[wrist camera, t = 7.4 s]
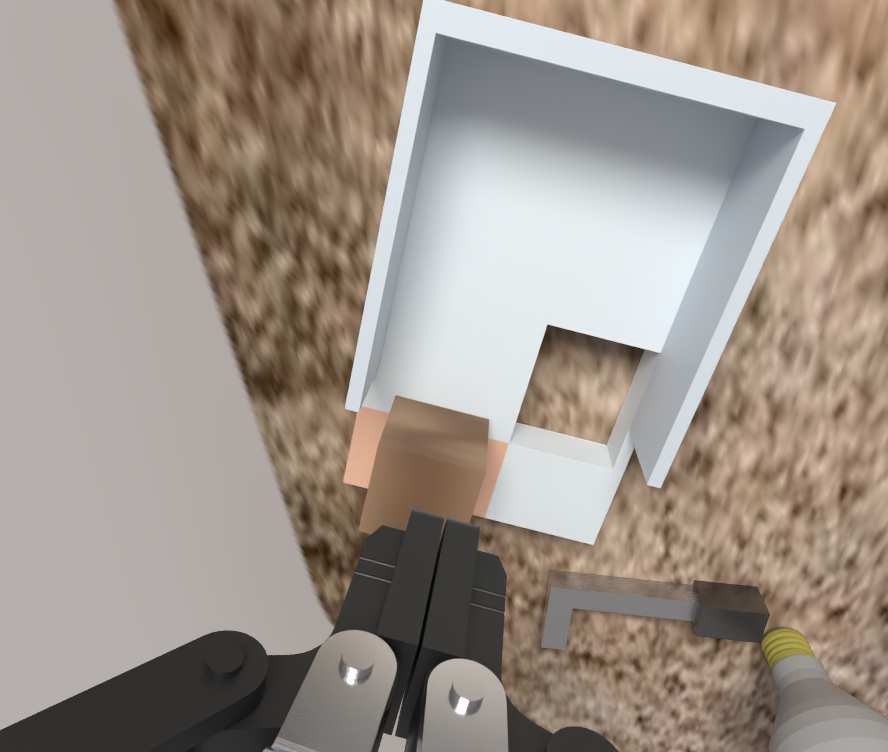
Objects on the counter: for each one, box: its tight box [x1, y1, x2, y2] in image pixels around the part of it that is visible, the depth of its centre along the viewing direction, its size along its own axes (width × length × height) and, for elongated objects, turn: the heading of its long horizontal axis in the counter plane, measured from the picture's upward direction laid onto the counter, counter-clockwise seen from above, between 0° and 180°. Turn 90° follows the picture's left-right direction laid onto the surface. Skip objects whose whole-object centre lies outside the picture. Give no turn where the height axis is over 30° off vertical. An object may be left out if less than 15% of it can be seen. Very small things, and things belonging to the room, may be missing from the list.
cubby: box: [343, 0, 836, 545], centre depth 25 cm, size 12×19×6 cm, turn 167°
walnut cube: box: [358, 395, 489, 543], centre depth 27 cm, size 4×4×4 cm
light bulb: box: [761, 628, 888, 752], centre depth 29 cm, size 6×6×10 cm
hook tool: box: [540, 570, 770, 650], centre depth 33 cm, size 10×4×2 cm, turn 87°
